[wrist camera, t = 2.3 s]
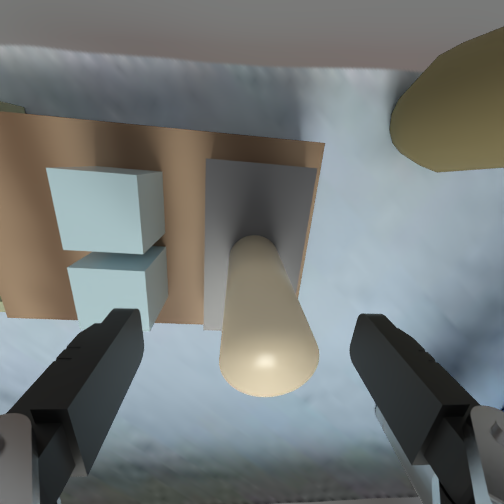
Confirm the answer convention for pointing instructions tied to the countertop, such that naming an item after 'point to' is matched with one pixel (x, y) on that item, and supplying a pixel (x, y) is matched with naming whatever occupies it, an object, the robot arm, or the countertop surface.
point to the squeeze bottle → (456, 109)
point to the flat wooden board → (117, 156)
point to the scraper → (258, 273)
